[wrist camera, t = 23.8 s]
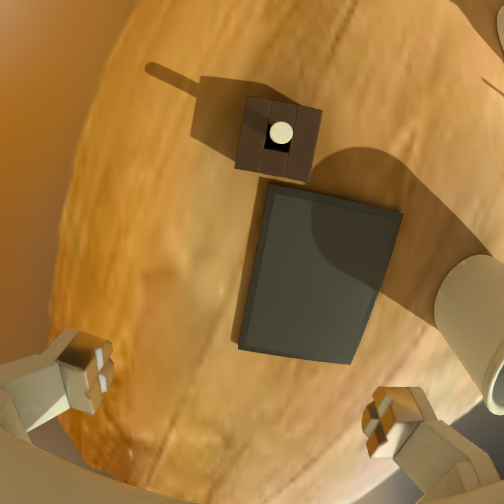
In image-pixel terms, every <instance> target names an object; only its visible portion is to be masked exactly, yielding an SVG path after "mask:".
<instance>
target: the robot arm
mask: <svg viewBox="0 0 504 504" xmlns="http://www.w3.org/2000/svg"><path fill="white" fill-rule="evenodd" d="M497 30H498V35H499V39H500V43H501V45H502V48H503V51H504V5H503V6H502V7H501V8H500V9H499V11H498V15H497ZM112 352H113V350H112V343H111V342H110V341H109V340H105V339H102V338H99V337H96V336H93V335H90V334H87V333H84V332H80V331H78V330H75V329H72V328H69V327H68V328H65V329H64V330H63V331H62V332H61V333H60V334H59V335H58V336H57V337H56V338H55V340H54V341H53V342H52V343H51V344H50V345H49V346H48V347H47V348H46V349H45V351H44V352H43V353H42V354H41V355H38V354H34V355H31V356H28V357H25V358H22V359H19V360H15V361H12V362H9V363H6V364H3V365H0V504H206V503H200V502H195V501H190V500H185V499H180V498H176V497H172V496H167V495H163V494H159V493H155V492H152V491H148V490H145V489H141V488H138V487H134V486H131V485H128V484H125V483H122V482H118V481H116V480H113V479H109V478H107V477H104V476H101V475H99V474H96V473H93V472H91V471H88V470H86V469H83V468H81V467H78V466H76V465H73V464H71V463H69V462H67V461H64V460H62V459H59V458H58V457H55V456H53V455H51V454H49V453H47V452H45V451H43V450H41V449H39V448H37V447H35V446H33V443H32V441H31V439H30V437H29V435H28V434H27V432H28V431H30V430H32V429H34V428H35V427H37V426H39V425H41V424H43V423H44V422H46V421H48V420H50V419H51V418H53V417H55V416H57V415H58V414H60V413H62V412H64V411H65V410H67V409H69V408H70V407H72V408H75V409H78V410H81V411H83V412H86V413H89V414H92V415H94V414H95V413H96V411H97V409H98V407H99V406H100V404H101V402H102V395H101V394H102V393H104V392H106V391H108V390H109V388H110V386H111V384H112V380H113V377H114V363H113V361H112V360H111V359H110V355H111V354H112ZM372 396H373V399H374V401H372V402H371V403H370V404H368V405H367V406H366V408H365V410H364V412H363V416H362V429H363V433H364V434H366V435H367V436H368V437H369V438H368V440H367V442H366V445H367V449H368V453H369V457H370V459H380V458H393V460H394V461H395V462H396V463H397V464H398V466H399V467H400V468H401V469H402V470H403V471H404V472H405V473H406V474H407V476H408V477H409V478H410V479H411V480H412V481H413V482H414V483H415V484H416V485H417V486H418V488H419V489H420V490H421V491H422V492H423V493H424V494H425V495H424V496H423V497H422V498H420V499H419V500H418V501H417V502H416V503H415V504H504V480H501V479H500V477H499V475H498V473H497V471H496V469H495V467H494V464H493V462H492V461H491V458H490V456H489V455H488V454H487V453H485V452H484V451H483V450H481V449H480V448H479V447H477V446H476V445H474V444H473V443H472V442H470V441H469V440H468V439H466V438H465V437H464V436H462V435H461V434H459V433H458V432H457V431H455V430H454V429H452V428H451V427H450V426H449V425H447V424H446V423H445V422H443V421H442V420H439V421H438V419H437V417H436V415H435V413H434V411H433V409H432V407H431V405H430V403H429V401H428V399H427V397H426V395H425V393H424V391H423V390H422V389H421V388H420V387H381V386H379V387H378V388H377V389H376V390H375V392H374V393H373V395H372ZM69 406H70V407H69Z"/></svg>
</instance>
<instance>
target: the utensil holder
mask: <svg viewBox="0 0 504 504" xmlns="http://www.w3.org/2000/svg"><path fill="white" fill-rule="evenodd" d="M434 320H435V323H436V326H437V328H438V329H439V331H440V332H441V334H442V335H443V337H444V338H445V340H446V341H447V343H448V344H449V346H450V347H451V349H452V350H453V351H454V353H455V354H456V356H457V357H458V358H459V360H460V361H461V363H462V364H463V366H464V367H465V369H466V370H467V372H468V373H469V375H470V376H471V378H472V379H473V381H474V382H475V384H476V385H477V387H478V388H479V390H480V392H481V393H482V395H483V399H484V402H485V404H486V406H487V407H488V409H489V410H490V411H491V412H492V413H494V414H497V415H504V264H503V263H502V262H500V261H498V260H497V259H495V258H493V257H491V256H488V255H482V254H479V255H473V256H470V257H468V258H466V259H464V260H463V261H461V262H460V263H458V264H457V265H456V266H455V267H454V268H453V269H452V270H451V271H450V272H449V273H448V275H447V276H446V277H445V279H444V280H443V282H442V284H441V286H440V288H439V290H438V293H437V296H436V299H435V304H434Z"/></svg>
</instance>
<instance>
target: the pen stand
mask: <svg viewBox="0 0 504 504" xmlns="http://www.w3.org/2000/svg"><path fill="white" fill-rule="evenodd" d="M321 117H322V110H319V109H315V108H310V107H306V106H301V105H296V104H291V103H286V102H280V101H275V100H273V101H272V100H270V99H264V98H258V97H251V96H247V100H246V106H245V111H244V117H243V122H242V128H241V134H240V139H239V145H238V151H237V157H236V162H235V169H240V170H246V171H252V172H257V173H263V174H268V175H273V176H279V177H285V178H289V179H294V180H299V181H304V182H309V178H310V173H311V168H312V163H313V158H314V153H315V148H316V143H317V138H318V133H319V127H320V122H321ZM277 122H286V123H288V124H289V125H290V126H291V128H292V130H293V135H292V138H291V139H290V141H288V145H287V151H282V150H276V149H271V148H266V147H265V143H266V137H267V132H268V126H270V127H272V125H273V124H275V123H277Z"/></svg>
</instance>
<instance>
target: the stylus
mask: <svg viewBox="0 0 504 504" xmlns="http://www.w3.org/2000/svg"><path fill="white" fill-rule="evenodd" d="M292 135H293V130H292V128H291V126H290V125H289V124H288V123H286V122H277V123H275V124H273V125H272V127H271V129H270V137H271V139H272V141H274V142H276V143H279V144H284V143H287V142H288V141H290V139H291V138H292Z"/></svg>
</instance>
